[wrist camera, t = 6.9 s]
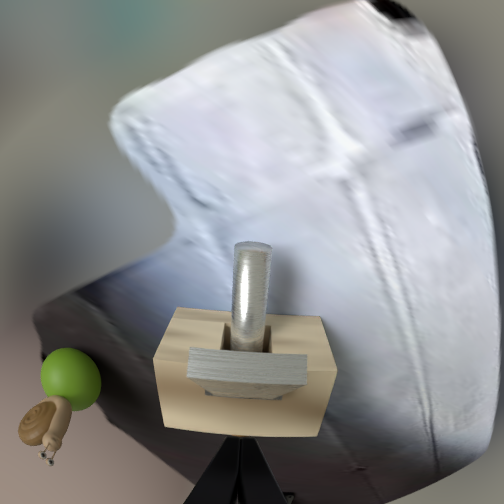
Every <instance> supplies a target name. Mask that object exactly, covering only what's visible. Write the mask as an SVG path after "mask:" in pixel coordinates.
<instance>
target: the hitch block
mask: <svg viewBox="0 0 504 504" xmlns="http://www.w3.org/2000/svg"><path fill="white" fill-rule="evenodd" d="M231 313H232V312H229V311H216V310H204V309H193V308H182V307H177V309H176V311H175V313H174V315H173V317H172V319H171V321H170V323H169V325H168V328H167V330H166V332H165V334H164V336H163V338H162V340H161V343H160V345H159V347H158V349H157V351H156V353H155V356H154V358H153V362H154V368H155V375H156V381H157V388H158V394H159V399H160V405H161V410H162V416H163V421H164V426H165V427H171V428H177V429H184V430H191V431H199V432H208V433H218V434H230V435H245V436H267V437H311V436H317V434H318V432H319V429H320V426H321V423H322V420H323V417H324V414H325V411H326V408H327V405H328V401H329V398H330V395H331V392H332V389H333V385H334V382H335V378H336V375H337V371H338V370H337V367H336V364H335V361H334V358H333V354H332V351H331V348H330V345H329V342H328V339H327V336H326V333H325V330H324V327H323V324H322V321H321V318H320V316H296V315H276V314H266V320H265V330H264V340H263V350H262V353H278V354H307V385H305V386H303V387H300V388H298V389H296V390H293V391H291V392H289V393H286V394H284V395H283V397H282V400H257V399H240V398H227V397H215V396H205V389H204V388H202V387H201V386H199V385H198V384H196V383H194V382H193V381H191V380H190V379H188V378H187V368H188V358H189V349H190V347H195V348H205V349H216V350H228V351H230V339H231Z"/></svg>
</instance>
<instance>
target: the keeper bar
mask: <svg viewBox="0 0 504 504" xmlns="http://www.w3.org/2000/svg"><path fill="white" fill-rule="evenodd" d="M187 378H188V379H190V380H191V381H193V382H194V383H196V384H198V385H199V386H201V387H202V388H204V389H205V396H215V397H227V398H240V399H257V400H282V397H283V395H284V394H286V393H289V392H291V391H293V390H296V389H298V388H300V387H303V386H305V385H307V354H278V353H258V352H242V351H228V350H216V349H205V348H195V347H190V349H189V358H188V368H187Z"/></svg>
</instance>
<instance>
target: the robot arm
mask: <svg viewBox="0 0 504 504" xmlns="http://www.w3.org/2000/svg"><path fill="white" fill-rule="evenodd" d="M240 445H241V446H240ZM237 491H238V496H237ZM293 498H294V494H293V493H282V491H281V489H280V487H279V485H278V483H277V481H276V479H275V477H274V475H273V473H272V471H271V469H270V467H269V465H268V463H267V461H266V459H265V457H264V455H263V453H262V451H261V448H260V446H259V444H258V442H257V440H256V439H255V438H253V437H242V438H240V437H237V436H227V437H226V438H225V439H224V441H223V443H222V444H221V446H220V448H219V449H218V451H217V452H216V454H215V456H214V457H213V459H212V460H211V462H210V464H209V465H208V467H207V468H206V470H205V472H204V473H203V475H202V476H201V478H200V479H199V481H198V482H197V484H196V485H195V487H194V488H193V490H192V492H191V493H190V495H189V496H188V497H187V499H186V500H185V502H184V503H183V504H236V500H237V499H238V504H291V502H292V500H293Z"/></svg>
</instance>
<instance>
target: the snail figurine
mask: <svg viewBox="0 0 504 504" xmlns="http://www.w3.org/2000/svg"><path fill="white" fill-rule="evenodd" d="M41 382H42V386H43V389H44V391H45V393H46V394H47V396H48V397H47V398H45V399H43V400H42V401H41V402H40V403H39V404H37V405H36V406H34V407H33V408H32V409H30V410H29V411H28V412H27V413H26V415H25V416H24V417H23V419H22V420H21V422H20V425H19V429H18V433H19V437H20V439H21V440H22V441H23V442H24V443H25V444H27V445H30V446H37V445H41V444H43V445H44V447H45V448H46V449H47V450H49V451H55V452H54V454H53V456H52V458H47V459H46V464H47V465H49V466H53V464H54V461H53V457H54V455H55V453H56V451H57V450H59V449H60V447H61V445H62V438H63V437H64V435H65V433H66V431H67V429H68V426H69V423H70V419H71V414H72V411H80V410H84V409H86V408H88V407H90V406H91V405H92V404H93V403H94V402H95V401H96V400H97V398H98V396H99V394H100V390H101V377H100V373H99V370H98V368H97V366H96V364H95V363H94V362H93V360H92V359H91V358H90V357H89V356H88V355H86V354H85V353H83V352H81V351H79V350H77V349H73V348H62V349H58V350H56V351H54V352H52V353H51V354H50V355H49V356H48V357H47V358H46V359H45V361H44V363H43V365H42V369H41ZM46 449H45V450H44V451H39V453H38V456H39V457H40V458H41V459H45V458H46V454H45V451H46Z"/></svg>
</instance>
